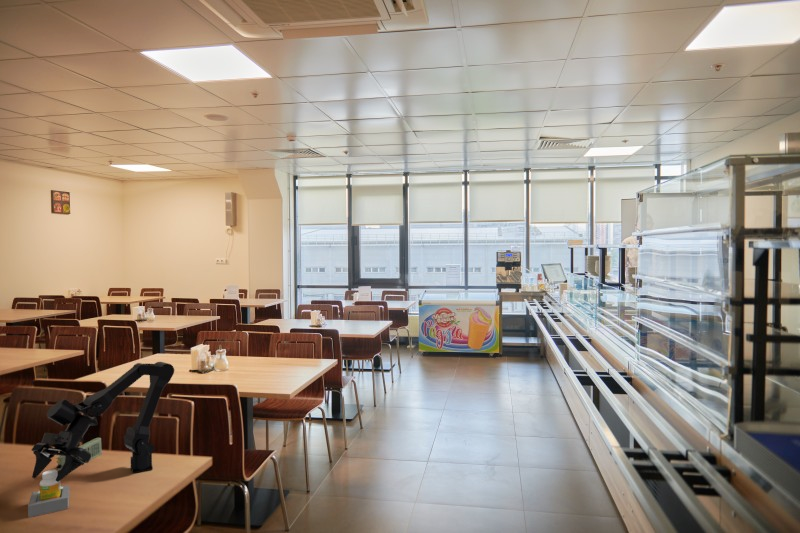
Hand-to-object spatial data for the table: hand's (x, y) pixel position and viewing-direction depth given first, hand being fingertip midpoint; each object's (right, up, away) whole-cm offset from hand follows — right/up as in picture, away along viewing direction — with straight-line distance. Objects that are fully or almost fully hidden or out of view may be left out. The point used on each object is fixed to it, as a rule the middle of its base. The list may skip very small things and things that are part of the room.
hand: (45, 479), depth 159 cm
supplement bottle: (+1, -8, +2) cm, 8 cm away
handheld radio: (-10, -9, +31) cm, 34 cm away
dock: (0, -9, +2) cm, 9 cm away
